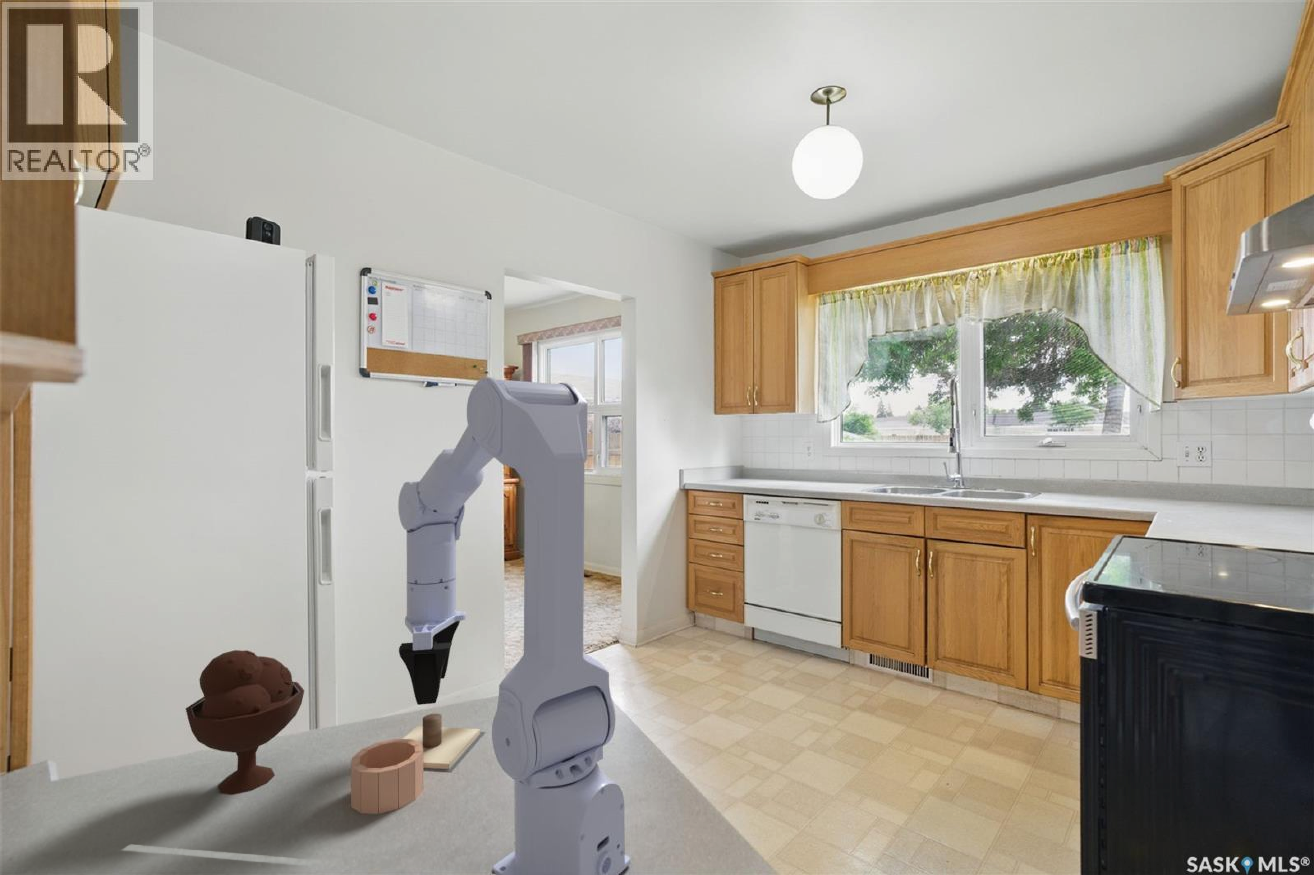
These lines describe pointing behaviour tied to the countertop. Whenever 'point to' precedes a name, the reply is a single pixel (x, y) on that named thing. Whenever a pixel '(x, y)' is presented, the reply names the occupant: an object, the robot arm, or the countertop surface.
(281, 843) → the countertop surface
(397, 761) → the bowl
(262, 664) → the ice cream bowl
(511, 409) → the robot arm
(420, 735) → the cover
